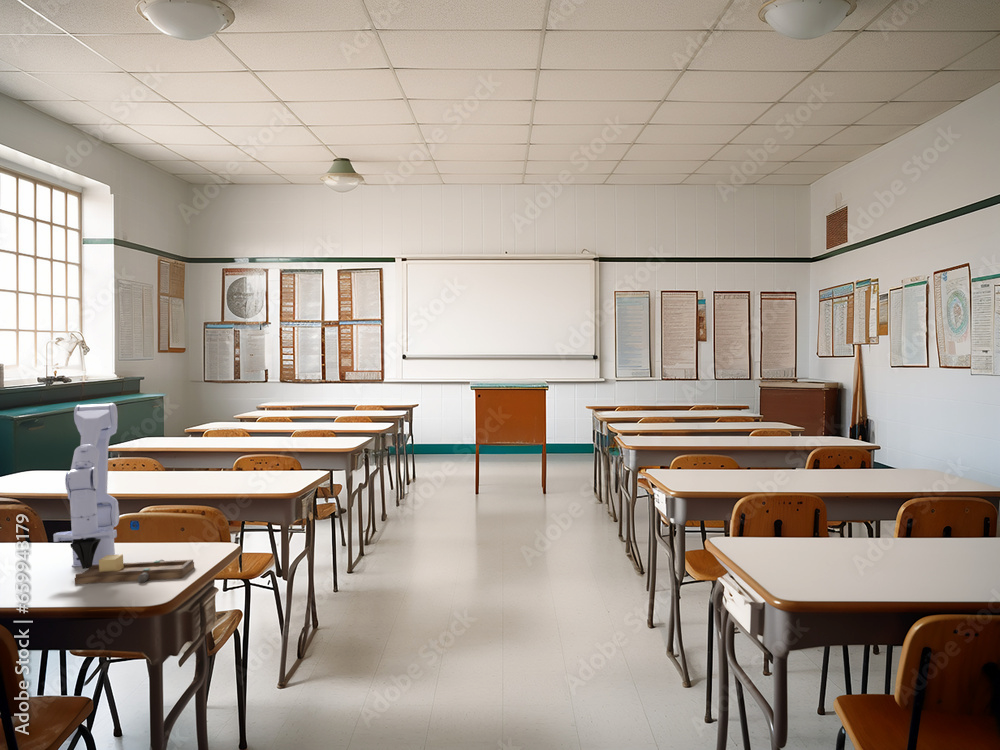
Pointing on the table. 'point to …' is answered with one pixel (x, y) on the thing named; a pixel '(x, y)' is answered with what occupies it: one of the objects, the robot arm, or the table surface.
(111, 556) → the block
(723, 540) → the table surface
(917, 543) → the table surface
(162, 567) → the balance beam
